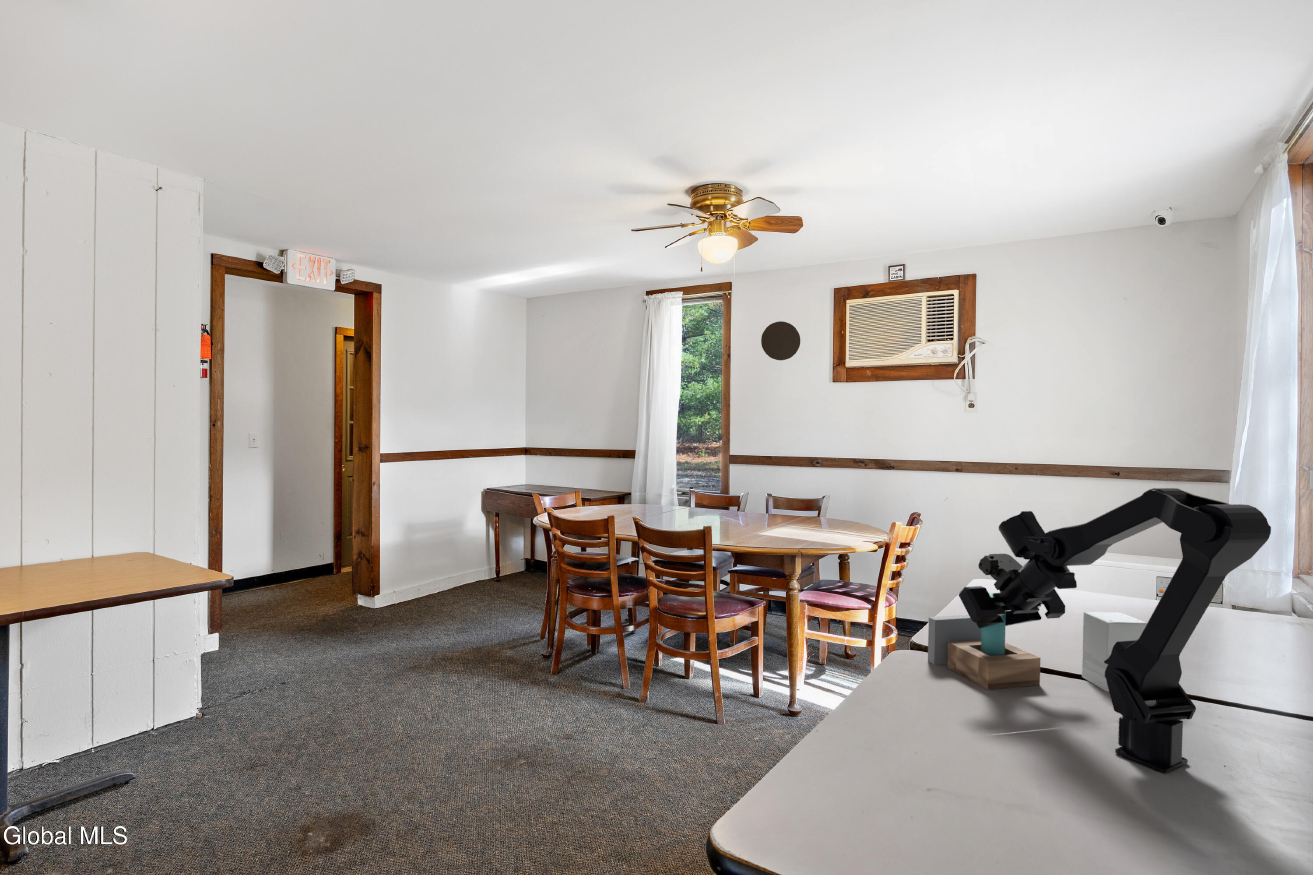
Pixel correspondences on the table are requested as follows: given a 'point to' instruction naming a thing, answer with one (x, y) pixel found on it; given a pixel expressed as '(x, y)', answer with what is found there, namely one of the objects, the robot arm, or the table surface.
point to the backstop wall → (949, 635)
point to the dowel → (994, 638)
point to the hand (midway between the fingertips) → (988, 625)
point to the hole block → (994, 665)
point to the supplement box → (1105, 641)
